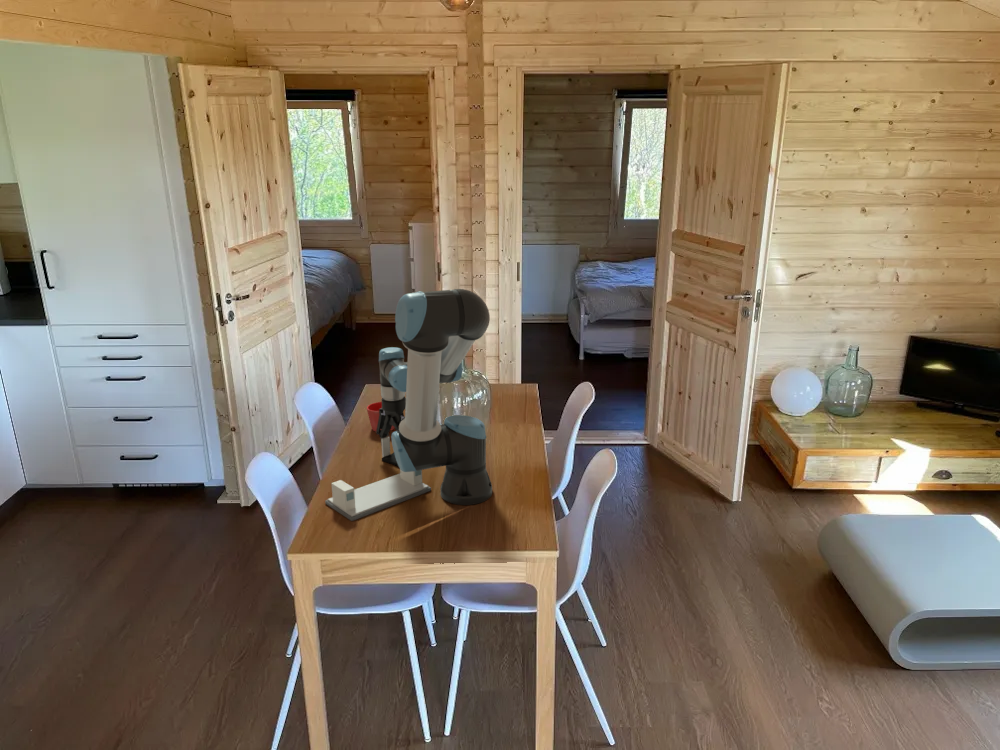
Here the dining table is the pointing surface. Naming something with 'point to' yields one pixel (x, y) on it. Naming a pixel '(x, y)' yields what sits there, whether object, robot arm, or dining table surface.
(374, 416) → the flower pot
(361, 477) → the dining table surface
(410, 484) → the board
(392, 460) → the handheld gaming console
